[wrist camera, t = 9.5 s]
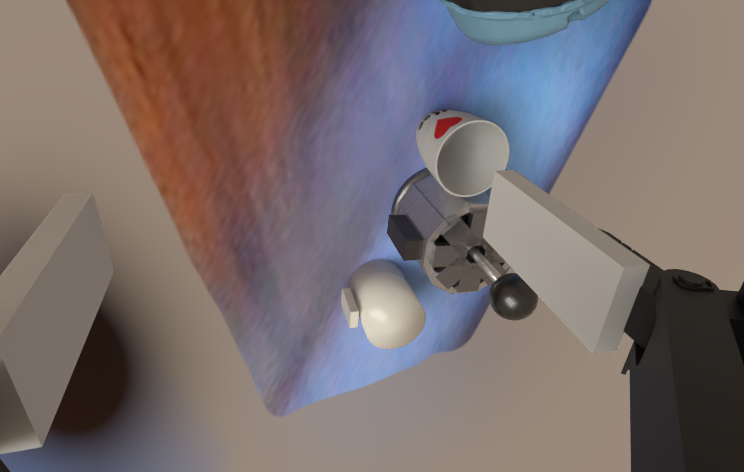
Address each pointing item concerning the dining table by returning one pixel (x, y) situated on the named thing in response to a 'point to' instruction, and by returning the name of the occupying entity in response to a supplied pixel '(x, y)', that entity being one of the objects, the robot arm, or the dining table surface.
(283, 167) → the dining table surface
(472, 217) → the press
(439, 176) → the cup
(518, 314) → the plunger
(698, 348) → the robot arm
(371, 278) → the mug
